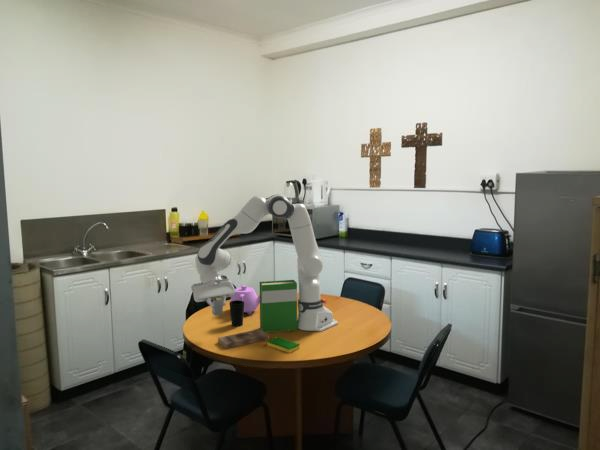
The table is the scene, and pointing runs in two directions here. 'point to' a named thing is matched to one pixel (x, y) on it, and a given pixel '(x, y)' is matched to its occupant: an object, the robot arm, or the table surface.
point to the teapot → (247, 298)
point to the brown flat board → (243, 338)
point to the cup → (237, 312)
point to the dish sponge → (283, 344)
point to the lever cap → (217, 306)
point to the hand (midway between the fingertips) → (218, 306)
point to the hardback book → (278, 305)
